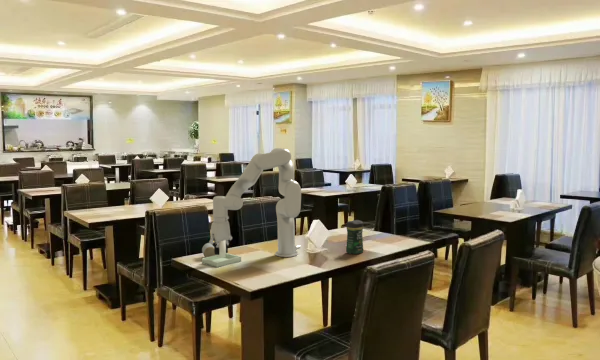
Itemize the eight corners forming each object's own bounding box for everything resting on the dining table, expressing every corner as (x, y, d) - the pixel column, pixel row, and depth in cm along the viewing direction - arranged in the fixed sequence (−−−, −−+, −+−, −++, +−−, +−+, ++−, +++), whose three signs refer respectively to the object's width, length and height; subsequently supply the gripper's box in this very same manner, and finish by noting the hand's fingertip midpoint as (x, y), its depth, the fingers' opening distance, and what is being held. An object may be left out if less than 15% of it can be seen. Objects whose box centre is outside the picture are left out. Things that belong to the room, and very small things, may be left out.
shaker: (222, 255, 261) (221, 236, 260) (228, 256, 258) (227, 238, 257) (214, 256, 257) (214, 238, 257) (220, 258, 254) (220, 239, 253)
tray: (225, 257, 268) (225, 252, 268) (241, 261, 259) (241, 256, 259) (202, 263, 256) (201, 258, 256) (217, 267, 248) (217, 262, 247)
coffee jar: (354, 255, 269) (354, 222, 267) (343, 253, 275) (343, 220, 273) (365, 252, 275) (365, 220, 274) (355, 250, 281) (355, 218, 280)
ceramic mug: (204, 260, 263) (203, 246, 262) (202, 256, 271) (201, 243, 270) (223, 258, 266) (223, 245, 266) (220, 255, 274) (220, 242, 273)
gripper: (228, 216, 265) (229, 249, 266) (202, 220, 252) (203, 255, 254) (237, 218, 260) (238, 251, 261) (211, 222, 247) (212, 257, 249)
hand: (221, 253), depth 257 cm, fingers closed on shaker, 5 cm apart
